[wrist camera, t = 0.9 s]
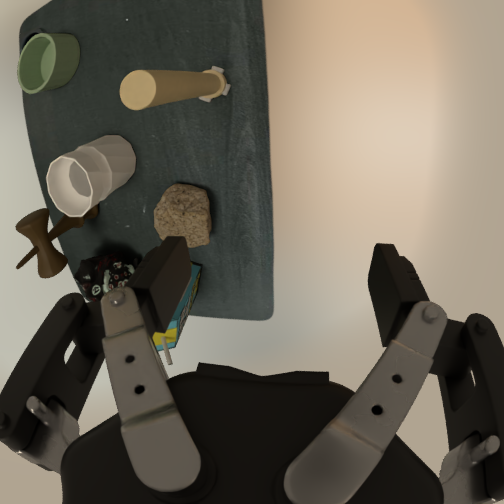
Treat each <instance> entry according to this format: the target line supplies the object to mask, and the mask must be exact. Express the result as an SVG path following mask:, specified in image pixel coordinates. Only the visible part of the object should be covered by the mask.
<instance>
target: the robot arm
mask: <svg viewBox="0 0 504 504" xmlns="http://www.w3.org/2000/svg"><path fill="white" fill-rule="evenodd" d="M191 272H192V268H191V262H190V256H189V251H188V246H187V241H186V238H185V237H184V236H167V237H166V238H165V240H164V241H163V242H162V244H161V245H160V246H159V247H155V248H154V249H152V250H151V251H150V252H148V253H147V254H146V256H145V257H144V258H143V260H142V262H141V263H140V264H139V265H138V268H136V270H135V271H134V272H133V274H132V275H131V277H130V278H129V279H128V281H127V282H126V284H125V285H124V286H122V287H116V288H114V289H111V290H110V291H108V292H107V293H106V294H105V295H104V296H103V297H102V299H101V301H96V302H88V303H86V302H85V299H84V297H83V296H82V295H81V294H80V293H70V294H67V295H65V296H63V297H62V298H61V299H60V300H59V301H58V302H57V303H56V304H55V306H54V307H53V309H52V310H51V311H50V313H49V314H48V316H47V317H46V319H45V320H44V322H43V323H42V325H41V326H40V328H39V329H38V331H37V332H36V334H35V335H34V337H33V338H32V340H31V341H30V343H29V345H28V346H27V348H26V349H25V351H24V353H23V354H22V356H21V358H20V359H19V361H18V363H17V365H16V366H15V368H14V370H13V371H12V373H11V375H10V377H9V379H8V380H7V382H6V384H5V386H4V388H3V390H2V392H1V394H0V441H1V442H3V443H4V444H5V445H7V446H8V447H9V448H10V449H11V450H12V451H14V452H15V453H17V454H18V455H20V456H22V457H23V458H25V459H27V460H28V461H30V462H31V463H34V464H36V465H38V466H40V467H42V468H43V469H45V470H48V471H55V472H57V473H59V474H60V475H61V482H62V491H63V502H62V504H493V503H495V502H498V501H500V500H503V499H504V347H503V344H502V342H501V339H500V337H499V335H498V333H497V330H496V328H495V326H494V324H493V323H492V321H491V320H490V319H489V318H487V317H486V316H484V315H481V314H478V313H475V314H471V315H469V317H468V318H467V320H466V322H465V323H463V322H459V321H455V320H451V319H448V318H447V315H446V313H445V311H444V310H443V309H442V308H441V307H440V306H439V305H437V304H435V303H433V302H430V300H429V298H428V296H427V293H426V291H425V289H424V287H423V285H422V283H421V281H420V280H419V277H418V274H417V273H416V270H415V268H414V267H413V265H412V263H411V262H410V261H408V260H407V259H406V258H405V257H404V256H399V254H398V252H397V250H396V248H395V246H394V244H382V243H377V244H376V245H375V247H374V251H373V257H372V261H371V265H370V270H369V274H368V288H369V292H370V296H371V300H372V303H373V307H374V311H375V316H376V319H377V323H378V328H379V332H380V337H381V342H382V346H383V347H387V348H386V350H385V351H384V353H383V354H382V356H381V357H380V359H379V360H378V362H377V363H376V364H375V366H374V367H373V369H372V370H371V372H370V373H369V374H368V376H367V377H366V379H365V380H364V381H363V383H362V384H361V385H360V387H359V388H358V389H357V391H356V392H354V391H352V390H350V389H349V388H347V387H345V386H343V385H340V384H338V383H335V382H331V381H329V372H314V371H313V372H312V371H294V372H288V373H282V374H275V375H269V376H259V375H255V374H252V373H249V372H246V371H243V370H240V369H237V368H233V367H230V366H224V365H216V364H207V363H200V362H199V364H198V367H197V370H196V371H194V372H187V373H183V374H179V375H177V376H174V377H172V378H170V379H169V377H168V375H167V373H166V370H165V368H164V365H163V363H162V360H161V358H160V355H159V353H158V350H157V348H156V345H155V343H154V340H153V338H152V337H153V335H154V333H155V332H157V333H163V334H165V333H166V331H167V328H168V326H169V324H170V322H171V320H172V317H173V315H174V313H175V311H176V309H177V306H178V304H179V302H180V300H181V298H182V296H183V294H184V291H185V289H186V287H187V285H188V283H189V281H190V278H191ZM72 340H73V342H74V343H75V345H76V346H75V348H74V350H73V352H72V354H71V355H70V357H69V359H68V361H67V363H66V364H65V361H64V355H65V352H66V350H67V348H68V346H69V345H70V343H71V341H72ZM104 359H106V364H107V369H108V373H109V378H110V382H111V386H112V390H113V394H114V398H115V401H116V405H117V409H118V413H117V414H115V415H114V416H112V417H110V418H109V419H107V420H106V421H104V422H102V423H101V424H99V425H98V426H96V427H95V428H93V429H91V430H90V431H88V432H86V433H85V434H83V435H81V436H80V435H79V425H78V422H77V421H78V419H79V416H80V414H81V411H82V409H83V406H84V404H85V402H86V399H87V397H88V395H89V392H90V390H91V388H92V385H93V383H94V381H95V379H96V376H97V374H98V372H99V370H100V368H101V365H102V363H103V361H104ZM471 370H472V372H473V375H474V379H475V386H474V382H473V378H472V375H471ZM428 373H431V374H435V375H437V376H438V380H439V386H440V391H441V396H442V401H443V407H444V413H445V419H446V427H447V434H448V443H449V453H448V454H447V455H446V456H445V458H444V459H443V462H442V466H441V470H440V473H439V475H440V477H439V478H438V477H437V476H436V474H435V473H434V472H433V471H432V470H431V469H430V468H429V467H428V466H427V465H426V464H425V463H424V462H423V461H422V460H421V459H420V458H419V457H418V456H417V455H416V454H415V453H414V452H413V451H412V450H411V449H410V448H409V447H408V446H407V445H406V444H405V443H404V442H403V441H402V440H401V439H400V438H399V437H398V436H397V434H396V432H397V430H398V429H399V427H400V425H401V424H402V422H403V420H404V419H405V417H406V415H407V413H408V412H409V410H410V408H411V406H412V404H413V403H414V401H415V399H416V397H417V395H418V393H419V391H420V389H421V387H422V385H423V383H424V381H425V379H426V377H427V375H428Z"/></svg>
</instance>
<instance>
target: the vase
mask: <svg viewBox="0 0 504 504" xmlns="http://www.w3.org/2000/svg"><path fill="white" fill-rule="evenodd" d="M135 164H136V156H135V154H134V151H133V149H132V146H131V144H130V143H129V142H128V141H126V140H125V139H124V138H122V137H121V136H120V135H106V136H103V137H101V138H99V139H96V140H94V141H92V142H90V143H87V144H85V145H82V146H80V147H79V148H78V149H76V150H75V151H73V152H69V153H66V154H64V155H62V156H60V157H59V158H57V159H56V160H54V161H53V162H52V163H50V167H49V170H48V173H47V177H46V179H47V186H48V192H49V195H50V197H51V199H52V200H53V202H54V203H55V205H56V207H57V208H58V209H59V210H60V211H62V212H63V213H65V214H66V215H68V216H69V217H82V216H83V215H84V214H85V213H86V212H87V211H88V210H90V209H91V208H92V207H94V206H95V205H97V204H98V203H99V201H101V200H104V199H105V198H106V197H107V196H108V195H109V194H110V193H112V192H113V191H114V190H115V189H117V188H118V187H120V186H122V185H124V184H125V183H126V182H127V181H128V180H129V178H130V177H131V176H132V175H133V173H134V172H135Z"/></svg>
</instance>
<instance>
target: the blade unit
mask: <svg viewBox="0 0 504 504" xmlns="http://www.w3.org/2000/svg"><path fill="white" fill-rule="evenodd" d="M223 72H224V69H221V68H218V67H216V66H213V67H212V69H211V70H206V71H203V72H189V71H171V70H136V71H133V72H131V73H129V74H128V75H127V76H126V77H125V78H124V80H123V81H122V84H121V87H120V97H121V100H122V102H123V103H124V104H125V106H127V107H128V108H130V109H133V110H141V109H144V108H148V107H152V106H157V105H161V104H165V103H170V102H175V101H179V100H184V99H190V98H195V97H199V99H201V100H204V101H207V102H211V100H212V98H216V97H218V96H220V95H221V94H223V95H225V96H227V94H228V91H229V89H230V87H231V85H230V84H227V81H226V78H225V76H224V75H223Z"/></svg>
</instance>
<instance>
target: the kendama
mask: <svg viewBox="0 0 504 504" xmlns="http://www.w3.org/2000/svg"><path fill="white" fill-rule="evenodd" d="M97 214H98V205H95V206H94V207H92V208H91V209H90V210H88V211H87V212H86V213H85V214H84V215H83V216H82V217H69V216H68V215H66V214H64V216H63V217H62V218H61V219H60V220H59V222H58V223H57V224H56V225H55V226H54V227H53V228H52V229H51V231H50V232H49V233H48V229H47V228H48V220H49V209H47V208H43V209H39V210H37V211H34V212H32V213H30V214H28V215H27V216H25V217H24V218H23V219H21V220H20V221H19V222H18V223H17V225H16V230H17V231H18V232H20V233H21V234H23V235H24V236H26V237H27V238H29V239H30V241H31V243H32V244H33V246H34V248H33V249H32V250H31V251H30V252H29V253H28V254H27V255H26V256H25V257H24V258H23V259H22V260H21V261H20V262H19V263H18V265H17V266H16V268H17V269H19V268H21V267H22V266H23V265H24V264H25V263H27V262H28V261H29V260H30V259H31V258H32V257H33V256H34V255H35V254H37V258H38V273H39V275H40V277H41V278H50V277H53V276H55V275H57V274H58V273H59V272H61V271H62V270H63V269H64V267H65V266H66V265H67V262H68V259H67V258H66V257H65V256H64V255H63V254H62V253H60V252H59V251H58V250H56V248H55V247H54V246H53V244H52V242H51V241H52V240H54V239H55V238H57V237H58V236H59V235H61V234H62V233H64V232H66V231H67V230H69V229H71V228H73V227H74V228H80V227H82V226H83V224H84V221H85V219H92V218H95V217H96V216H97Z"/></svg>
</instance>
